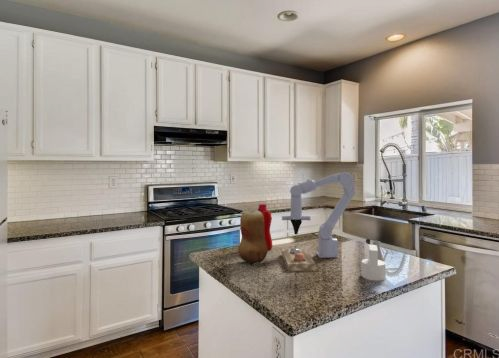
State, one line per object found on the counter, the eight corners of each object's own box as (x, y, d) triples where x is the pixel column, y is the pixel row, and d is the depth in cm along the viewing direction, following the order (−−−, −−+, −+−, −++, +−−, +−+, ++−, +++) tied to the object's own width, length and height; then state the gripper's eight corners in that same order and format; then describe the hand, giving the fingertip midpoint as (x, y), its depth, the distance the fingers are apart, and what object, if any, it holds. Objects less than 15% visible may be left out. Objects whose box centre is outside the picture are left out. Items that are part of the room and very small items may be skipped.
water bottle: (249, 248, 170) (248, 204, 169) (266, 246, 174) (266, 202, 173) (256, 252, 162) (255, 205, 161) (274, 249, 166) (273, 204, 165)
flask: (385, 261, 144) (385, 240, 144) (384, 265, 137) (384, 244, 137) (368, 259, 147) (368, 239, 147) (367, 263, 140) (367, 242, 140)
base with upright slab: (386, 281, 118) (386, 251, 118) (361, 279, 121) (361, 249, 121) (384, 274, 127) (384, 245, 126) (361, 271, 130) (361, 244, 129)
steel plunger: (298, 256, 152) (298, 247, 152) (300, 258, 148) (300, 249, 148) (290, 256, 152) (290, 247, 152) (291, 259, 148) (291, 249, 148)
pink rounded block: (303, 262, 140) (302, 252, 140) (304, 265, 136) (304, 255, 136) (294, 262, 140) (294, 253, 140) (295, 265, 136) (295, 255, 136)
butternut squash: (232, 263, 143) (232, 211, 142) (252, 257, 153) (251, 208, 152) (254, 270, 133) (254, 214, 132) (273, 263, 143) (273, 210, 142)
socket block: (305, 254, 156) (305, 248, 156) (315, 270, 132) (315, 263, 132) (281, 255, 156) (281, 249, 156) (288, 270, 132) (287, 264, 132)
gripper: (308, 207, 161) (308, 232, 162) (281, 207, 161) (281, 232, 162) (311, 208, 154) (311, 235, 155) (282, 208, 154) (282, 235, 155)
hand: (295, 233), depth 158 cm, fingers closed
